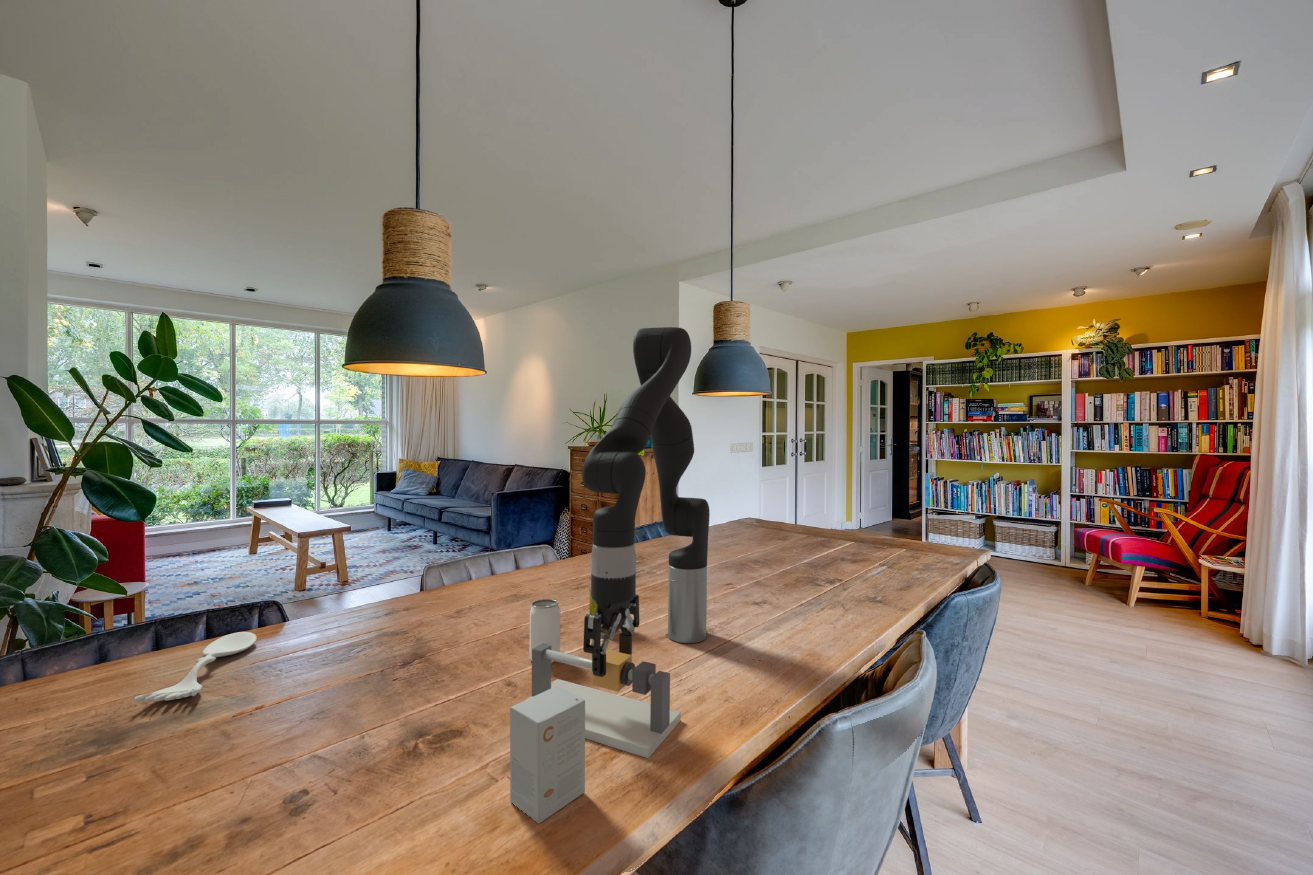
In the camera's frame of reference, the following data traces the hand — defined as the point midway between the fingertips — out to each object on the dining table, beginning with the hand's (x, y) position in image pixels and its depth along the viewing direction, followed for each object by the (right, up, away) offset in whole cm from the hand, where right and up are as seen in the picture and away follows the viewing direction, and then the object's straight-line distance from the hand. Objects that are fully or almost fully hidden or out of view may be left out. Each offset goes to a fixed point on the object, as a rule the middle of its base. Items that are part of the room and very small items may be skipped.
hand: (612, 664), depth 92 cm
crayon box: (-5, -9, +43) cm, 44 cm away
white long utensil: (-83, -9, +17) cm, 85 cm away
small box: (-7, -10, -19) cm, 23 cm away
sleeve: (0, -3, 0) cm, 3 cm away
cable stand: (-3, -10, +1) cm, 10 cm away
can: (-17, -9, +25) cm, 31 cm away
